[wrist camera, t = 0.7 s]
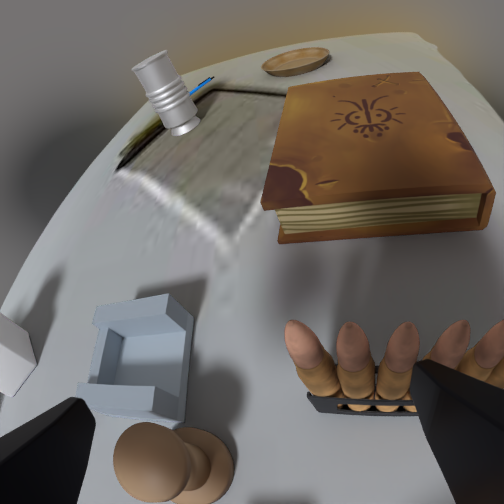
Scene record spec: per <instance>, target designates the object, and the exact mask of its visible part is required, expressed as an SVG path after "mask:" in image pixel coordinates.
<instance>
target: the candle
mask: <svg viewBox="0 0 504 504" xmlns="http://www.w3.org/2000/svg"><path fill="white" fill-rule="evenodd" d="M167 53H168V51H167V50H165V51H162V52H160V53H157V54H155V55H153V56H151V57H149V58H148V59H146V60H144V61H142V62H141V63H139V64H138V65H136V66H135V67H133V68H132V71H133V72H135V73H136V75H137V77H138V79H139V80H140V82H141V84H142V85H143V87H144V89H145V91H146V96H147V97H149V101H150V103H152V107H153V108H155V112H156V113H159V116H160V118H161V120H162V122H163V124H164V126H165V128H171V131H172V135H173V136H179V135H182V134H184V133H187V132H188V131H190V130H192V129H193V128H195V127H196V126H197V125H198V124H199V123H200V119H199V118H198V117H197V116H196V113H197V111H198V109H197V107H196V106H195V104H194V103H193V101H192V100H191V98H190V93H189V92H188V91H187V87H186V86H184V84H185V83H184V81H182V80H181V79H182V77H181V76H180V75H178V74H177V72H176V70H175V68H174V66H173V64H172V62H171V60H170V59H169V57H168V55H167Z"/></svg>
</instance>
